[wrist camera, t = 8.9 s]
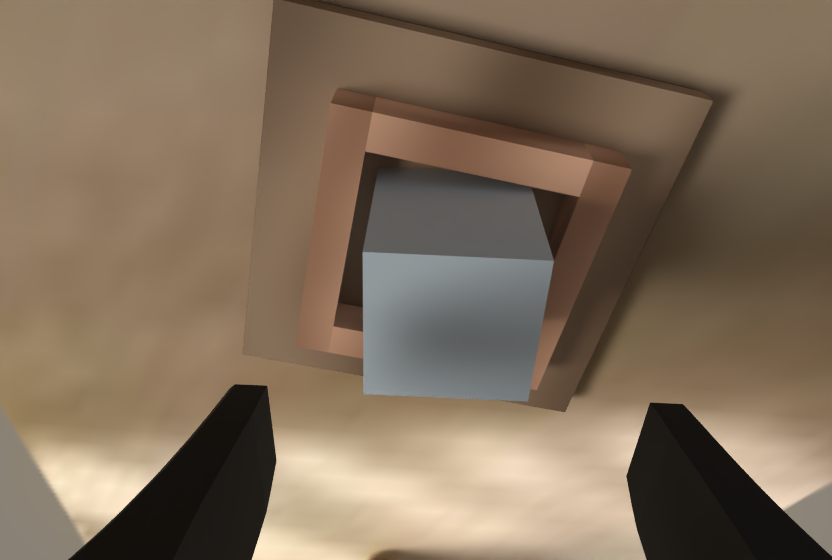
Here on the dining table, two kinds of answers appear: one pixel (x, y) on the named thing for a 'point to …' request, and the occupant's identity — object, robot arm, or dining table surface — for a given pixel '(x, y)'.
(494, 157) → the base plate
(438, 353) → the block
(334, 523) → the dining table surface
